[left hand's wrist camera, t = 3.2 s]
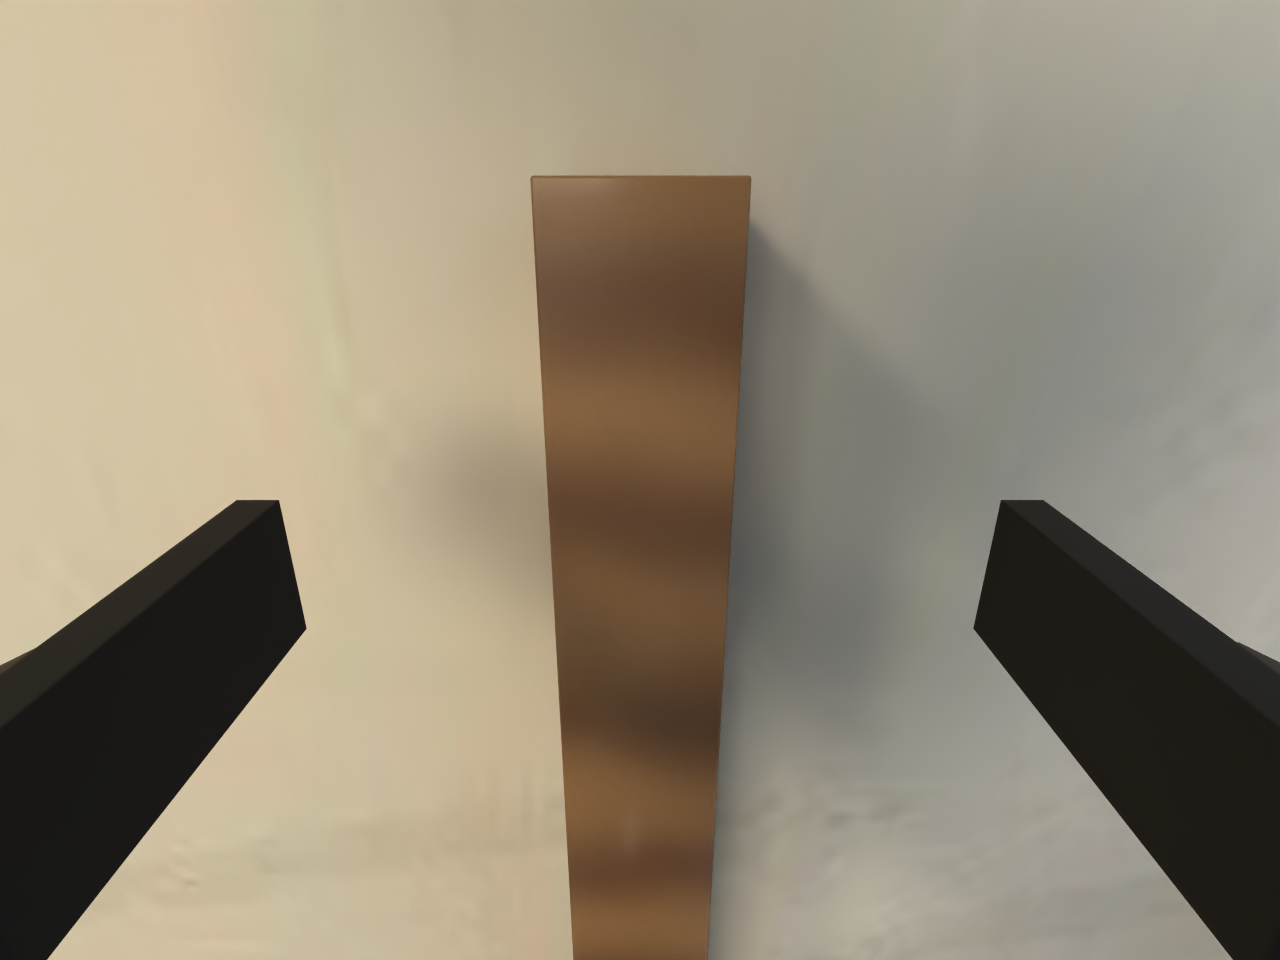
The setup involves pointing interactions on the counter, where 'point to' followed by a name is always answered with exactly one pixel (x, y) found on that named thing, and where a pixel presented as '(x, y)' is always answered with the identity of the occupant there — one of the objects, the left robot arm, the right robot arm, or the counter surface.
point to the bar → (640, 535)
